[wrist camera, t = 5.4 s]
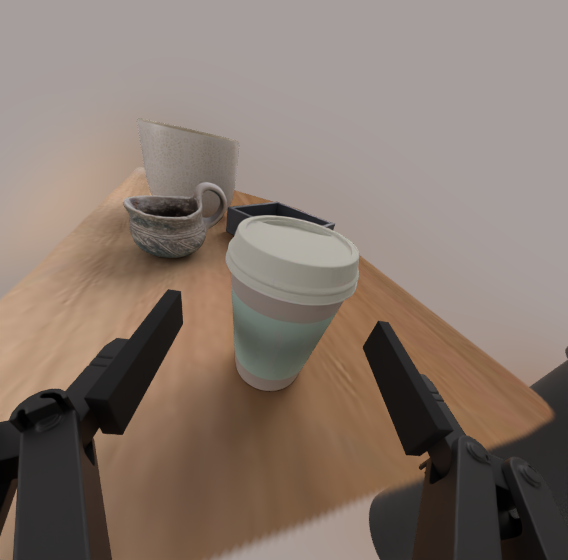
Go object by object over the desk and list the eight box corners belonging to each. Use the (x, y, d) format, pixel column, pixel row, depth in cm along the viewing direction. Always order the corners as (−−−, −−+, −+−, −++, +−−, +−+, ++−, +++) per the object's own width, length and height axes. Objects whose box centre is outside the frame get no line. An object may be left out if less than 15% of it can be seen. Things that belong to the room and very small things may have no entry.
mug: (124, 241, 31) (109, 166, 26) (206, 233, 39) (207, 174, 34) (144, 274, 26) (130, 187, 21) (234, 257, 34) (240, 191, 29)
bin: (328, 244, 48) (335, 223, 45) (289, 264, 36) (296, 237, 33) (273, 221, 54) (277, 201, 51) (226, 231, 42) (227, 206, 40)
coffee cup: (327, 356, 21) (381, 245, 15) (281, 436, 14) (341, 297, 8) (260, 314, 24) (280, 207, 18) (196, 364, 18) (193, 222, 11)
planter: (142, 199, 48) (130, 115, 40) (216, 202, 58) (218, 135, 50) (159, 228, 37) (148, 122, 29) (246, 225, 47) (255, 146, 39)
